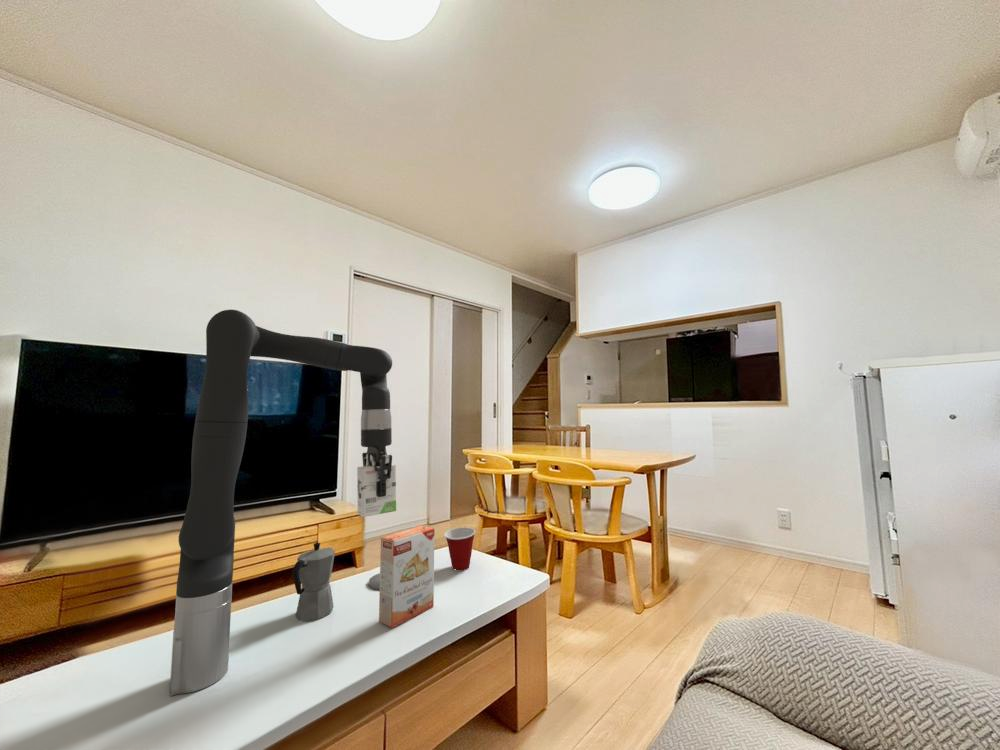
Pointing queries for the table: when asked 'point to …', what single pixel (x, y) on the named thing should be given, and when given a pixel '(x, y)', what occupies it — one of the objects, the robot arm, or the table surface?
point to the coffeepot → (314, 583)
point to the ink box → (367, 492)
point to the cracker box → (406, 575)
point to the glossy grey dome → (375, 581)
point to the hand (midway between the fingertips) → (376, 494)
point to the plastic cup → (460, 546)
